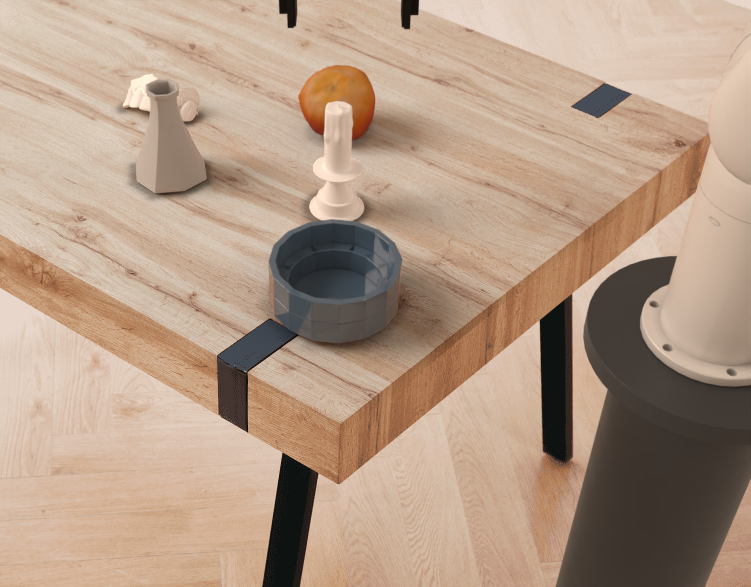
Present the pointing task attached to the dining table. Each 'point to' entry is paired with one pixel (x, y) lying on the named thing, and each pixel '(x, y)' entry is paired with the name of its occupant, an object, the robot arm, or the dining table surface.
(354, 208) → the candle
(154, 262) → the dining table surface
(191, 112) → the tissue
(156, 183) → the flask
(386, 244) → the bowl
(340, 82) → the fruit
